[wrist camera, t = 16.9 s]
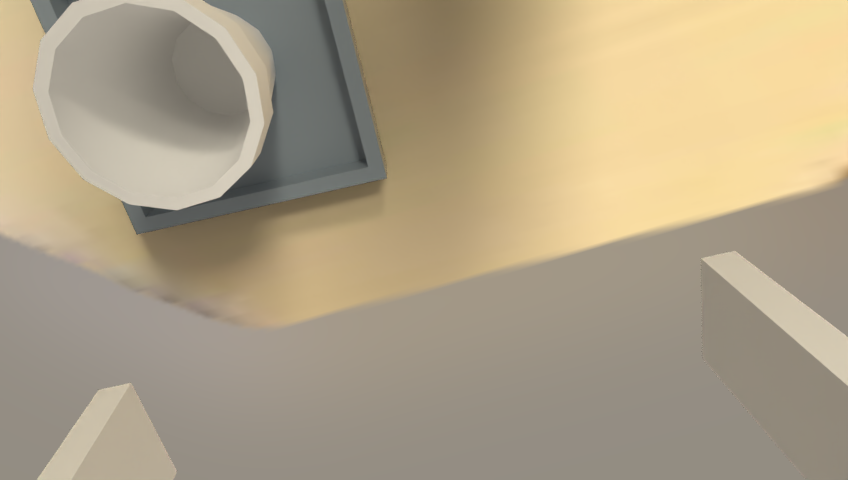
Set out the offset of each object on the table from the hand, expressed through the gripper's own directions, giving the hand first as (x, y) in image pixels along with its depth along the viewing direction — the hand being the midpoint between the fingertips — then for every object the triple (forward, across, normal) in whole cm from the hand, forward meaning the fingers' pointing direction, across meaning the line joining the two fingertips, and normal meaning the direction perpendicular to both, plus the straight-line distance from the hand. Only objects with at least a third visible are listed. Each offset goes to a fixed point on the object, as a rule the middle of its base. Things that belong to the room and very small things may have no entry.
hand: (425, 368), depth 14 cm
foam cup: (+28, -10, +5) cm, 30 cm away
